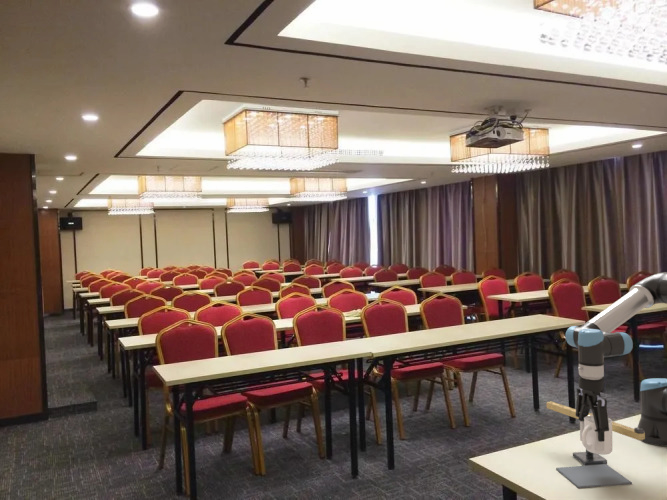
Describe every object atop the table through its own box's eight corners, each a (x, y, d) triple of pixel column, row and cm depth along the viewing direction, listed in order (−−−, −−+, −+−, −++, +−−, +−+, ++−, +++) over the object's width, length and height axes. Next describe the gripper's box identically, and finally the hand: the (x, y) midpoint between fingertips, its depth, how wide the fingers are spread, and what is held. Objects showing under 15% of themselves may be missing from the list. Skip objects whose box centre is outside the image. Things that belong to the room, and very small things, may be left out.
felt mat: (606, 465, 190) (606, 464, 190) (631, 484, 176) (631, 482, 176) (556, 469, 188) (556, 467, 188) (578, 488, 174) (578, 486, 174)
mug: (593, 459, 175) (593, 427, 174) (571, 450, 182) (571, 419, 182) (618, 451, 180) (617, 420, 180) (595, 443, 188) (595, 413, 187)
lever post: (594, 455, 199) (593, 418, 199) (607, 464, 191) (606, 425, 191) (573, 456, 198) (572, 419, 198) (585, 466, 190) (584, 427, 190)
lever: (647, 439, 177) (647, 429, 177) (638, 442, 175) (638, 431, 175) (553, 406, 211) (553, 398, 211) (544, 408, 209) (544, 400, 209)
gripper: (563, 369, 191) (564, 434, 192) (598, 386, 170) (599, 458, 171) (584, 368, 192) (585, 433, 193) (621, 384, 171) (622, 457, 172)
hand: (591, 445), depth 182 cm, fingers closed on mug, 8 cm apart
